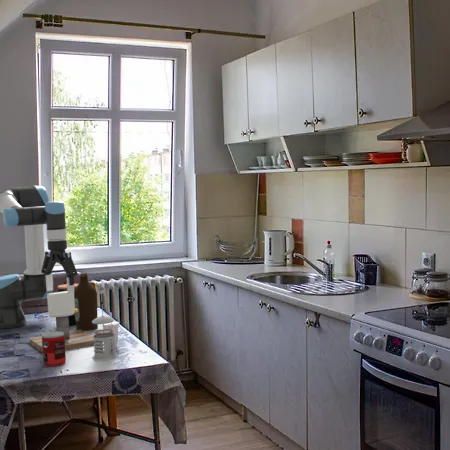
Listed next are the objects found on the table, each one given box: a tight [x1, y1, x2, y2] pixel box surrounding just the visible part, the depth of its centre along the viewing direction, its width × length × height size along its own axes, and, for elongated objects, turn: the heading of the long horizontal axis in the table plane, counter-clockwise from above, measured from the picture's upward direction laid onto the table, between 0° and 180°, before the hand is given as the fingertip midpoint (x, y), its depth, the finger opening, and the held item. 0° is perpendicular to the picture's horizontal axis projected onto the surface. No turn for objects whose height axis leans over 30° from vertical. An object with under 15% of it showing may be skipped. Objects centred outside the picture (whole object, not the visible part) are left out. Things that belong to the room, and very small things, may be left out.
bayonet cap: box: [46, 291, 78, 318], centre depth 265 cm, size 12×10×9 cm
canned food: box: [41, 330, 67, 367], centre depth 236 cm, size 8×8×11 cm
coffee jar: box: [57, 283, 79, 327], centre depth 302 cm, size 11×11×18 cm
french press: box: [91, 290, 119, 362], centre depth 241 cm, size 10×12×25 cm
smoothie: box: [104, 312, 120, 349], centre depth 255 cm, size 6×6×14 cm
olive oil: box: [74, 272, 99, 332], centre depth 290 cm, size 11×11×25 cm
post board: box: [28, 316, 95, 353], centre depth 265 cm, size 22×22×12 cm
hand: (60, 291), depth 264 cm, fingers open, 13 cm apart
